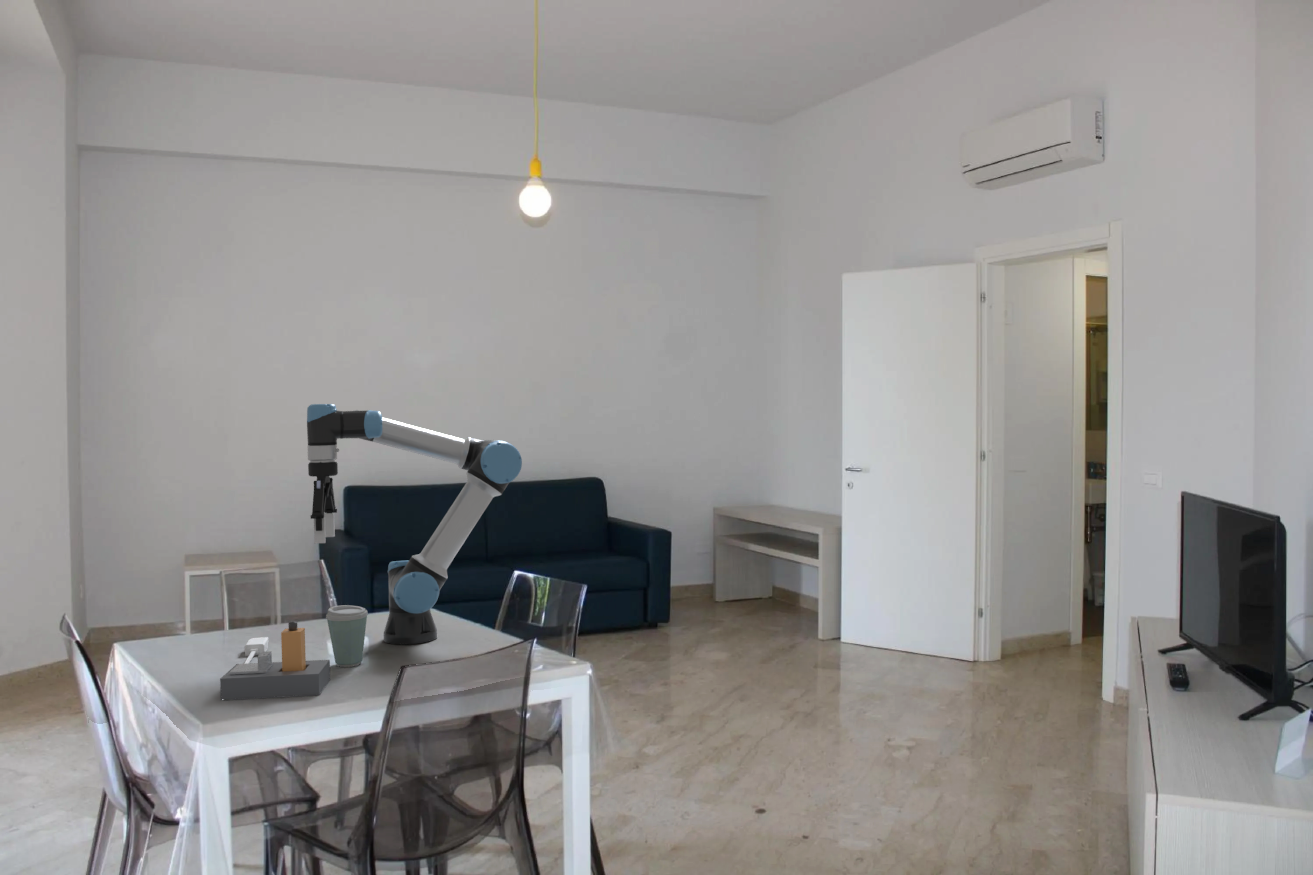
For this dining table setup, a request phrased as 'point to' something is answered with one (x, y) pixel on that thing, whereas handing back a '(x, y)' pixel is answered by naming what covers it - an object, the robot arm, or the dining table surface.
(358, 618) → the disposable coffee cup
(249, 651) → the charging cable
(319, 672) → the socket box
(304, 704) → the dining table surface
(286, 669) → the plug
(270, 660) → the shutter
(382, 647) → the dining table surface
